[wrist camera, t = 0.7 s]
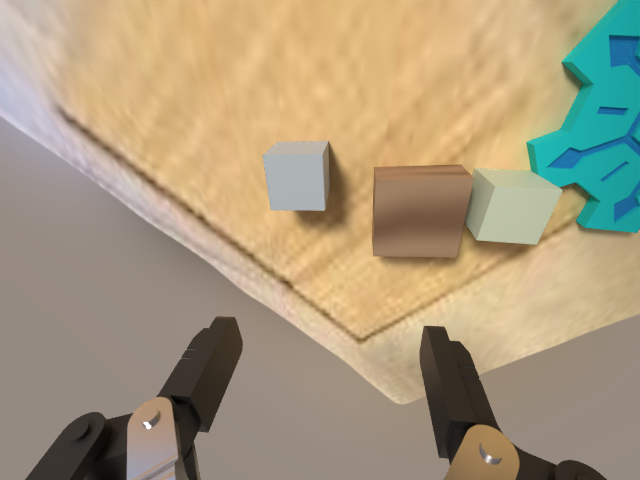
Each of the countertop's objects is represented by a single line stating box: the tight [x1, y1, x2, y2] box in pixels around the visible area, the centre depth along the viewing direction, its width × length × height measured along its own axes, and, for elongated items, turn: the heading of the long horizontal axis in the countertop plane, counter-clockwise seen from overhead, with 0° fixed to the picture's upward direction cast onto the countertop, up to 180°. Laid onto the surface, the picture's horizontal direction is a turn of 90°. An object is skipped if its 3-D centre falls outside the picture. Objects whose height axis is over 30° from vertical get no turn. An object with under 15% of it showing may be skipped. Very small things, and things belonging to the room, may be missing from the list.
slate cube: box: [263, 141, 330, 211], centre depth 27 cm, size 5×5×5 cm
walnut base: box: [372, 165, 474, 257], centre depth 28 cm, size 8×8×4 cm
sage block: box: [465, 168, 563, 245], centre depth 26 cm, size 5×5×5 cm
